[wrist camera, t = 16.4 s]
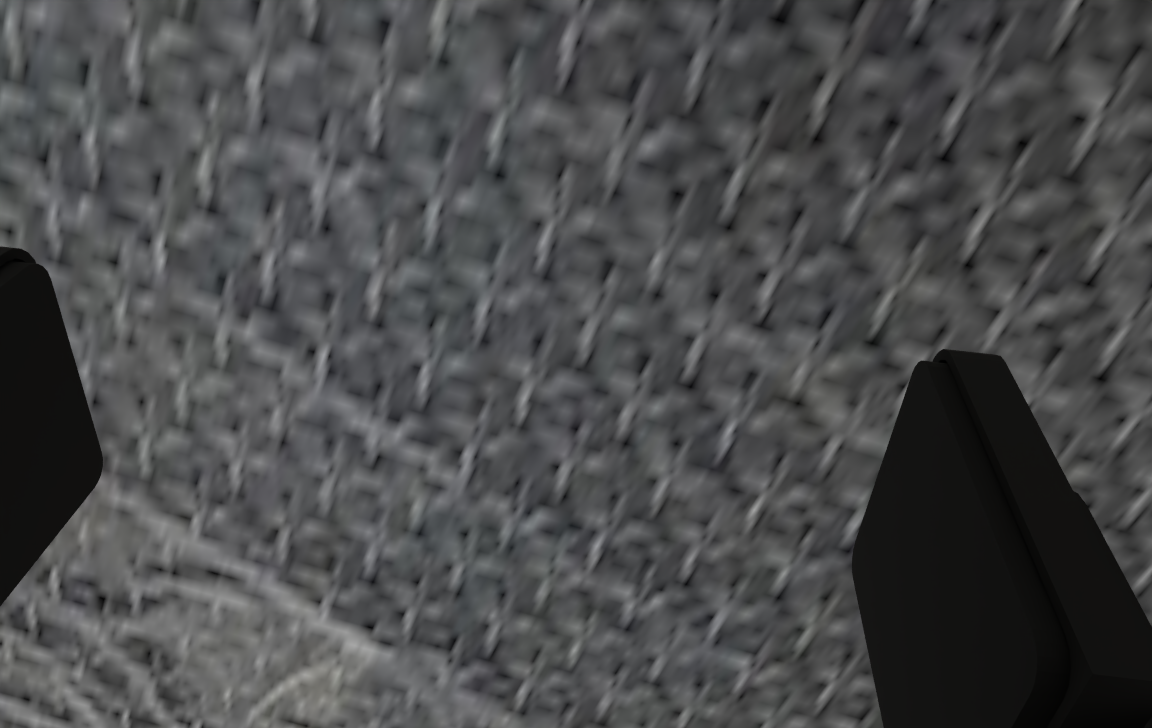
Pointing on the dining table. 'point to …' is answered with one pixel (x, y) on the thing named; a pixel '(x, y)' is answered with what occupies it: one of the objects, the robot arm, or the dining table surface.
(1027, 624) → the robot arm
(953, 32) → the dining table surface
